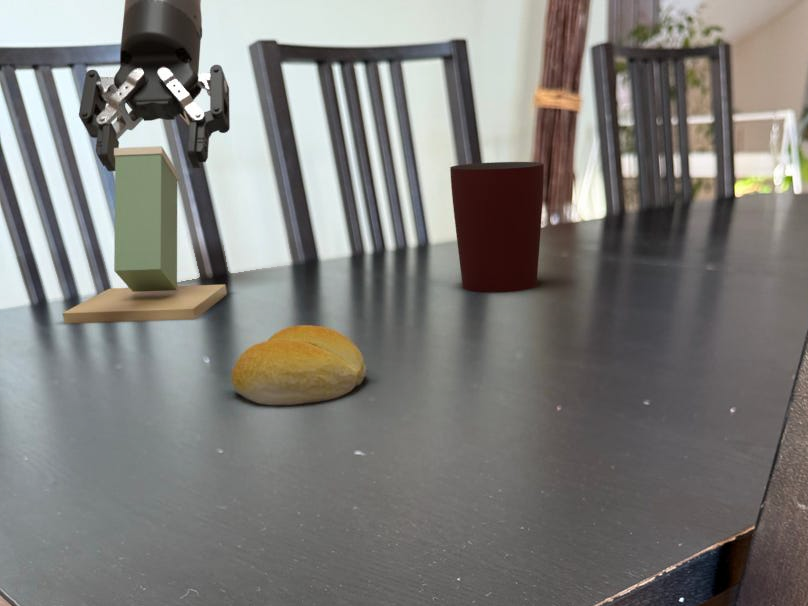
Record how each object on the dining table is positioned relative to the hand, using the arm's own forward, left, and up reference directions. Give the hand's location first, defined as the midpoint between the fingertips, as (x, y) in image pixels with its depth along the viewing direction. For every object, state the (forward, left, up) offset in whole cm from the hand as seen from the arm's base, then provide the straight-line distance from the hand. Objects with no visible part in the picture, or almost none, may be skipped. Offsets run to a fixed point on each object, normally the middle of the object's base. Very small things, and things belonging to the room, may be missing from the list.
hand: (151, 163), depth 92 cm
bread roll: (+20, -39, -12) cm, 45 cm away
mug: (+34, -2, -12) cm, 36 cm away
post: (0, -8, -10) cm, 13 cm away
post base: (0, -9, -12) cm, 15 cm away
